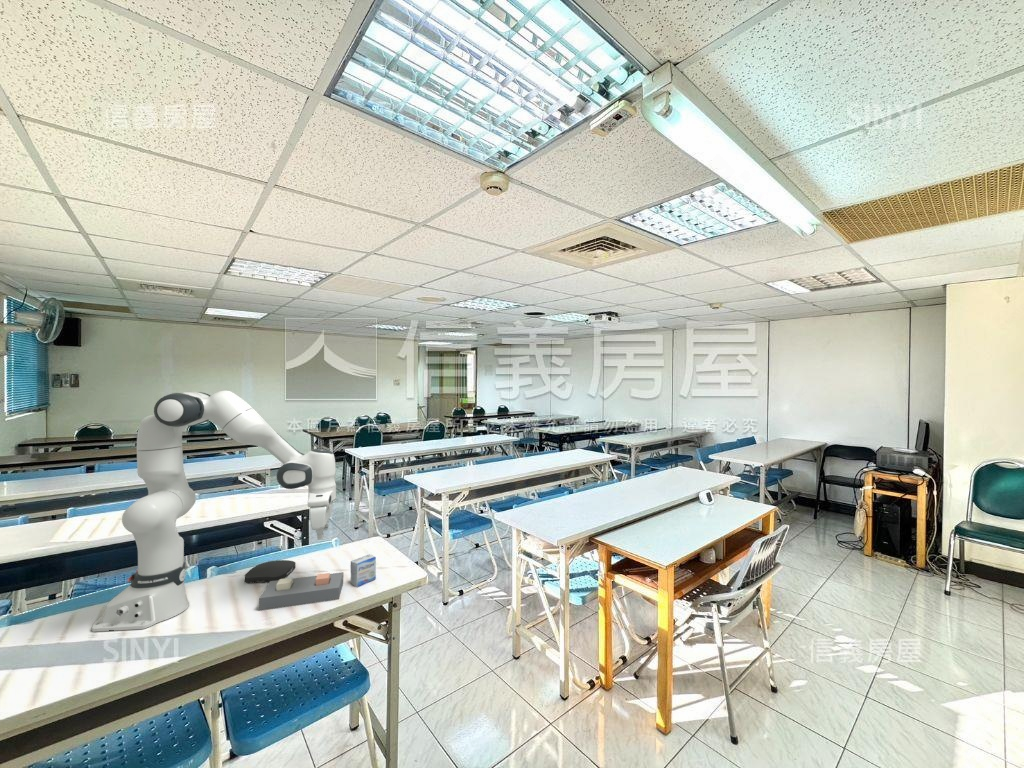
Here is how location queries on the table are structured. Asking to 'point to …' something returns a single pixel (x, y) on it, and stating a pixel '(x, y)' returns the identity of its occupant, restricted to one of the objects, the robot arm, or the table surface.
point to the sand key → (284, 584)
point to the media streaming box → (270, 571)
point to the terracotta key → (323, 579)
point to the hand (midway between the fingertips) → (322, 534)
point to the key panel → (301, 592)
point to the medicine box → (363, 570)
